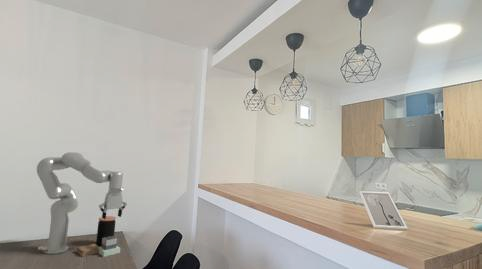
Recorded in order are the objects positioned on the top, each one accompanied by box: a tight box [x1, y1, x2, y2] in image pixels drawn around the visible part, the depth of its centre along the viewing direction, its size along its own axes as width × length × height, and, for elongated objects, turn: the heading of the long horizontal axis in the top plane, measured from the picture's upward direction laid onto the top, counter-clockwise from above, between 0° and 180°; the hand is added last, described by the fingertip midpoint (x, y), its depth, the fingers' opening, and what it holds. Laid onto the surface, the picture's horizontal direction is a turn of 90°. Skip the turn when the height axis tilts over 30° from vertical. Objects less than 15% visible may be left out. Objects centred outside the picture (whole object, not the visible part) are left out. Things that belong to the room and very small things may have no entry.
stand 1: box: [76, 243, 99, 258], centre depth 160 cm, size 10×10×3 cm
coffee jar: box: [95, 215, 117, 247], centre depth 176 cm, size 11×11×18 cm
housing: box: [102, 235, 118, 250], centre depth 162 cm, size 6×6×7 cm
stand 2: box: [97, 245, 121, 257], centre depth 162 cm, size 10×10×3 cm
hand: (111, 217), depth 164 cm, fingers open, 9 cm apart
